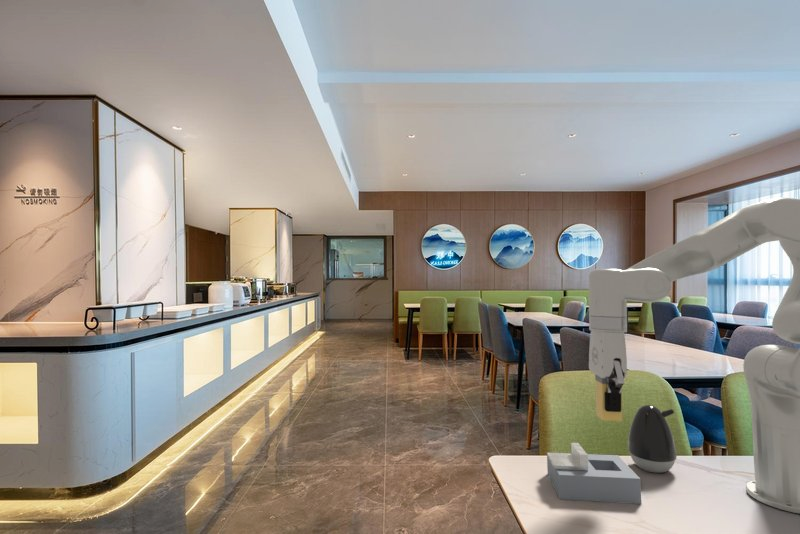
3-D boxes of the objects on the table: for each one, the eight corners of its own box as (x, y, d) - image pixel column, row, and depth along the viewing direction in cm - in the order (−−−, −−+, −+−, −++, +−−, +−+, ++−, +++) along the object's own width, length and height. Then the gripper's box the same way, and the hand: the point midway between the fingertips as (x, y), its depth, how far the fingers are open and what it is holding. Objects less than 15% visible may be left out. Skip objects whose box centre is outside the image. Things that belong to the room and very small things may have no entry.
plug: (614, 415, 93) (614, 370, 94) (622, 421, 89) (621, 374, 89) (595, 414, 93) (595, 369, 94) (602, 420, 89) (601, 373, 90)
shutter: (578, 457, 96) (578, 442, 96) (588, 470, 89) (587, 454, 89) (547, 456, 97) (546, 441, 97) (554, 469, 90) (553, 453, 90)
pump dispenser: (686, 479, 95) (683, 412, 96) (636, 475, 98) (634, 410, 98) (667, 461, 105) (664, 400, 106) (622, 458, 108) (620, 398, 108)
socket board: (618, 477, 97) (617, 455, 97) (641, 503, 85) (640, 478, 85) (547, 473, 99) (546, 452, 99) (560, 499, 87) (559, 474, 87)
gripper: (578, 321, 101) (579, 397, 100) (604, 327, 84) (605, 419, 83) (610, 321, 100) (611, 398, 99) (643, 328, 83) (644, 421, 83)
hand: (608, 407), depth 91 cm, fingers closed on plug, 4 cm apart
